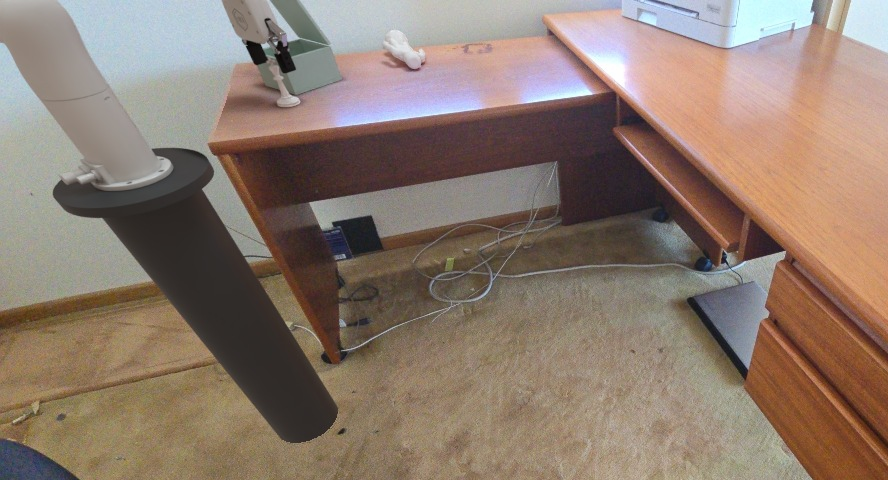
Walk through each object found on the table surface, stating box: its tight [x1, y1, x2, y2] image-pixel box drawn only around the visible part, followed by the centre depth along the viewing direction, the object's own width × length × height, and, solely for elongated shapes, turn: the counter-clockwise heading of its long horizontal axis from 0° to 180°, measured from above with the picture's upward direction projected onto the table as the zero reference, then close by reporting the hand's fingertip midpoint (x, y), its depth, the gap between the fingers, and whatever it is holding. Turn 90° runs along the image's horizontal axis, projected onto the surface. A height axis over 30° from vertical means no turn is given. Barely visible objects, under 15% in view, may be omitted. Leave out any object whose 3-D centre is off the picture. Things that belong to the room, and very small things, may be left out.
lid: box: [269, 0, 332, 46], centre depth 125 cm, size 14×12×5 cm
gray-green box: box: [256, 38, 343, 96], centre depth 130 cm, size 14×12×8 cm
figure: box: [381, 29, 426, 70], centre depth 145 cm, size 11×6×20 cm
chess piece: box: [266, 57, 301, 108], centre depth 119 cm, size 5×5×10 cm
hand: (275, 67), depth 117 cm, fingers open, 9 cm apart
